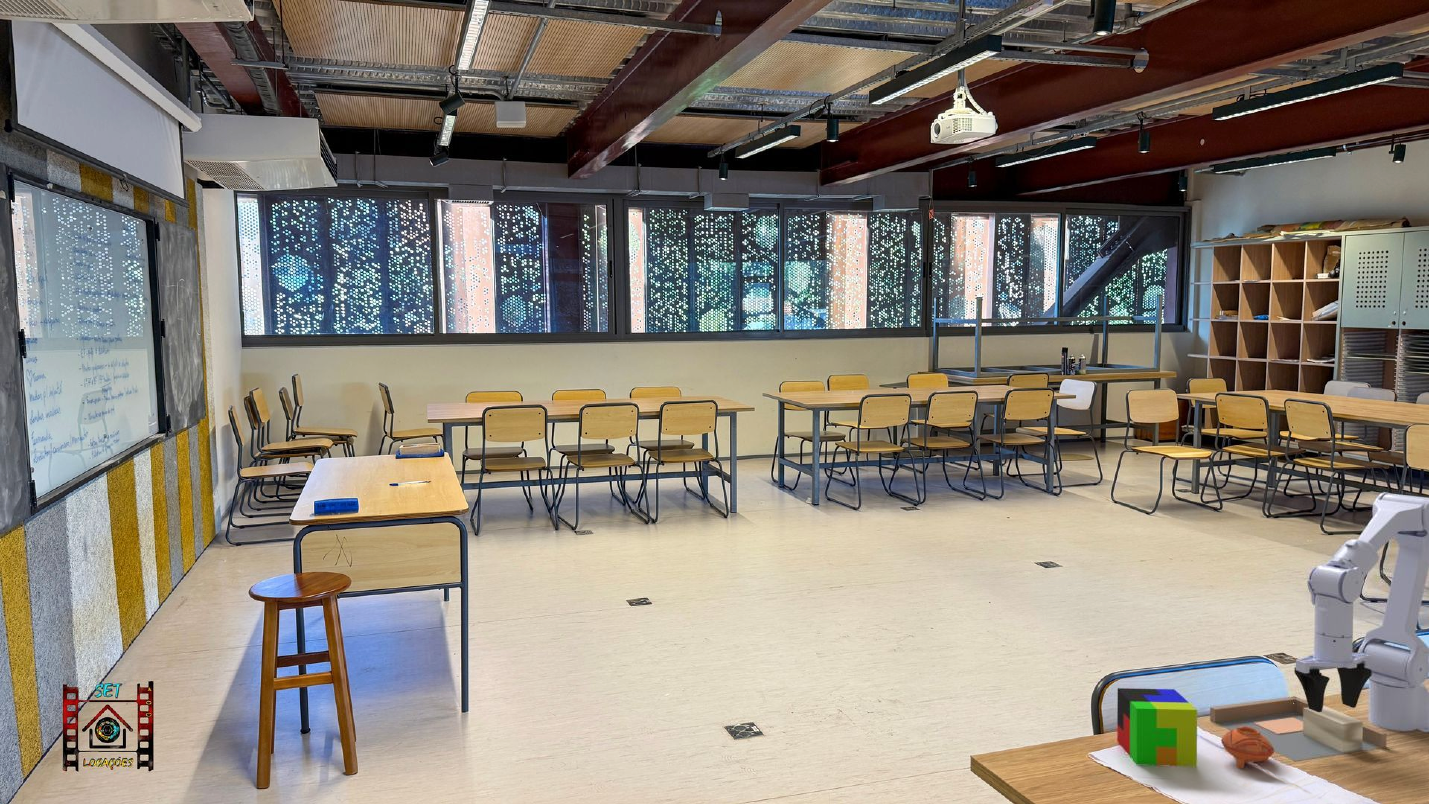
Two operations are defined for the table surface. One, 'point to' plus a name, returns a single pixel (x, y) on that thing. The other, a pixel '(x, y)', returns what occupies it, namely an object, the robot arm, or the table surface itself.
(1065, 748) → the table surface
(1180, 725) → the puzzle toy
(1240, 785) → the table surface
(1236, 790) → the table surface
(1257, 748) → the pot
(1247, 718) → the tray
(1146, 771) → the table surface
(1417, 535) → the robot arm
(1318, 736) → the birch block
